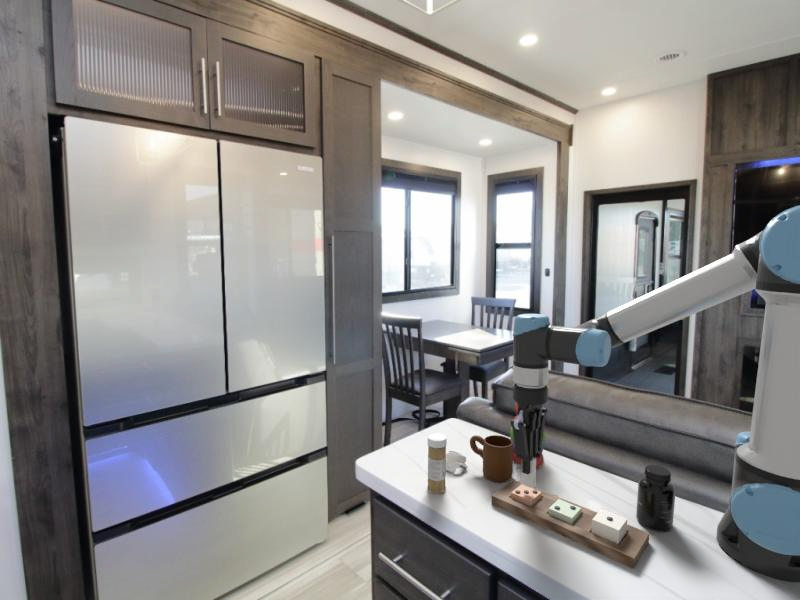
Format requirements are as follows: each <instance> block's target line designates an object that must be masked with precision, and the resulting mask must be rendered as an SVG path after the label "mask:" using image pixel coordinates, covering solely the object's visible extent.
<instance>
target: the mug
mask: <svg viewBox="0 0 800 600" xmlns="http://www.w3.org/2000/svg"><path fill="white" fill-rule="evenodd" d="M477 443H479V444H480V445H481V446H482V448H479V447H478V445H477ZM469 446H470V448H471V450H472V451H473V452H474V453H475V454H476V455H478V456H479V457H481V459H482V473H483V476H484V477H485V478H486V479H487V480H489V481H492V482H494V483H506V482H508V481H511V479H512V477H513V471H514V470H513V469H514V467H513V466H514V461H513V442H512V440H511V438H509V437H507V436H503V435H500V434H499V435H497V434H495V435H494V434H493V435H488V436H486V437H485V438H484V437H482V436H481V435H473V436H472V437H470V439H469Z"/></svg>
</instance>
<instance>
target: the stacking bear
mask: <svg viewBox="0 0 800 600" xmlns="http://www.w3.org/2000/svg"><path fill="white" fill-rule="evenodd" d="M517 409H518V403H517V402H516V401H515V405H514V411H515V414H516V416H515V417H514V419H513V420H516V418H517V417H518V415H517ZM509 437H510V438H509V439H511V440H512V442H513V463H514V462H515V463H518V464H519V465H521V466H522V459H520V458H517V457H516V450H515V442H514V434H513V428H512V426H511V428H510V434H509ZM545 444H546V432H545V431H544V432H543V440H542V448H541V451H540V452H539V451H538V454H541V457H540V458H537V457H536V470H537V469H539V468H541V467H542V466H543V464H544V461H545V459H544V455H543V451H544V447H545Z"/></svg>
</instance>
